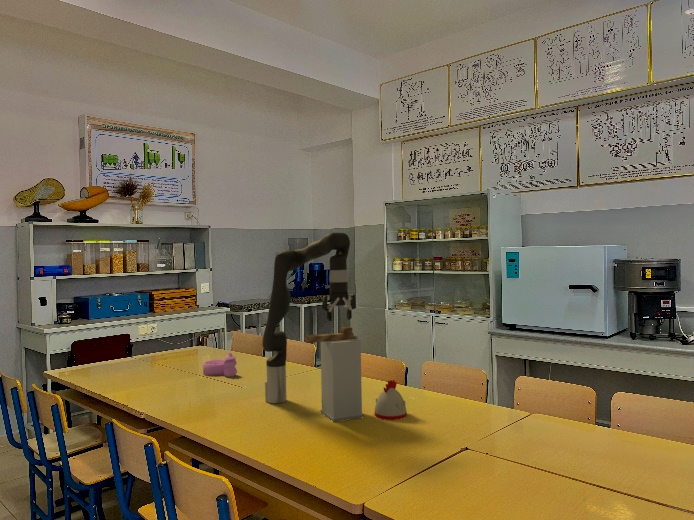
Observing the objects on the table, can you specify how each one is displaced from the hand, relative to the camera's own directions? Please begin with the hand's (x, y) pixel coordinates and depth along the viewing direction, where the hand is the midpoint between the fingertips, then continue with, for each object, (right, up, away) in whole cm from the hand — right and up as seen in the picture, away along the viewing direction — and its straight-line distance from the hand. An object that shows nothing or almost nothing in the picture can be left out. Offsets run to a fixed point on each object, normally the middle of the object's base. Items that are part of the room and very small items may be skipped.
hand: (339, 320), depth 223 cm
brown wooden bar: (-4, -10, +9) cm, 14 cm away
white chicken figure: (+22, -43, +11) cm, 49 cm away
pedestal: (+1, -43, +12) cm, 44 cm away
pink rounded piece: (-71, -43, +97) cm, 128 cm away
